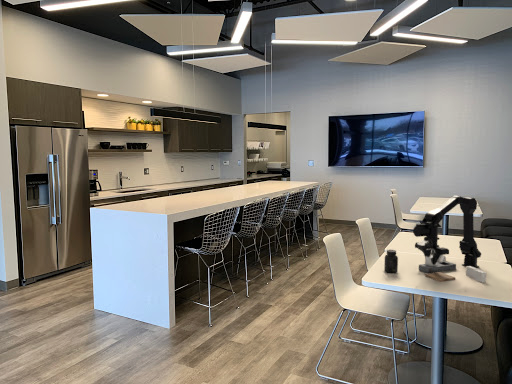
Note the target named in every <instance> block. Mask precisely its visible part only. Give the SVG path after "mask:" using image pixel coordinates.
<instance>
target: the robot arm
mask: <svg viewBox="0 0 512 384" xmlns="http://www.w3.org/2000/svg"><path fill="white" fill-rule="evenodd" d="M457 205H459V208H460V210H461V212H462V216H463V217H462V218H463V223H462V225H463V226H462V227H463V229H462V230H463V238H462V239H461V240H460V241H458V242H459V247H458V248H459V251H461V252H460V253H461V254H462V255H464V257H463V263H461V266H463V267H466V266H471V267H474V268H480V265H478V258H481V256H482V252H481V251H480V250H479V248H478V243H477V241H476V240H475V238H474V234H475V233H474V213H475V211H476V210H477V206H478V201H477V199H476V198H474V197H468V196H461V195H452V196H451V197H450V198H449V199H447V200H446V201H445V202H444V203H442V204H441V205H440V206H439V207H438V208H436V209H435V208H434V209H431V210H429V211H428V212H426V213H425V215H424V217H423V219H422V220H421V222H420V223H415V224H416V225H415V226H414V228H413V229H412V232H413V233H412V234H413V236H415V237H417V238H419V237H420V238H421V237H423V240H421V241H418V242H415V243H414V248H415V249H418V250H419V251H421V252H422V253H423V256H424V257H425V256H429V255H431V254H432V255H433V265H435V264H436V262H437V260H438V259H439V257H440V256H441V255H444V256H446V255H450V250H449V248H446V247H440V245H439V244H438V240H440V237H439V235H438V234H439V228H442V225H441V224H440V222H442V221H443V218H444V216H445V215H446V214H448V213H449V212H450V211H451V210H452V209H454V208H455V207H456V206H457ZM437 247H440V248H437ZM431 250H433V251H434V253H431Z"/></svg>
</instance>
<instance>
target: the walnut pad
mask: <svg viewBox="0 0 512 384" xmlns="http://www.w3.org/2000/svg"><path fill="white" fill-rule="evenodd" d="M424 276H425V277H427V278H430V279H432V280H435V281H437V282H440V283H441V282H448V281H455V280H456V277H455V276H452V275H451V274H450V275H449V274H446V273H444V272H436V273H429V274H428V273H425V274H424Z"/></svg>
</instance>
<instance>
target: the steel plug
mask: <svg viewBox="0 0 512 384" xmlns="http://www.w3.org/2000/svg"><path fill="white" fill-rule="evenodd" d="M424 258H425V259H424V264H425V265H426V266H429V267H435V266H436V264H435V265H433V256H432V255H429V256H424ZM436 263H437V262H436Z"/></svg>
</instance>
